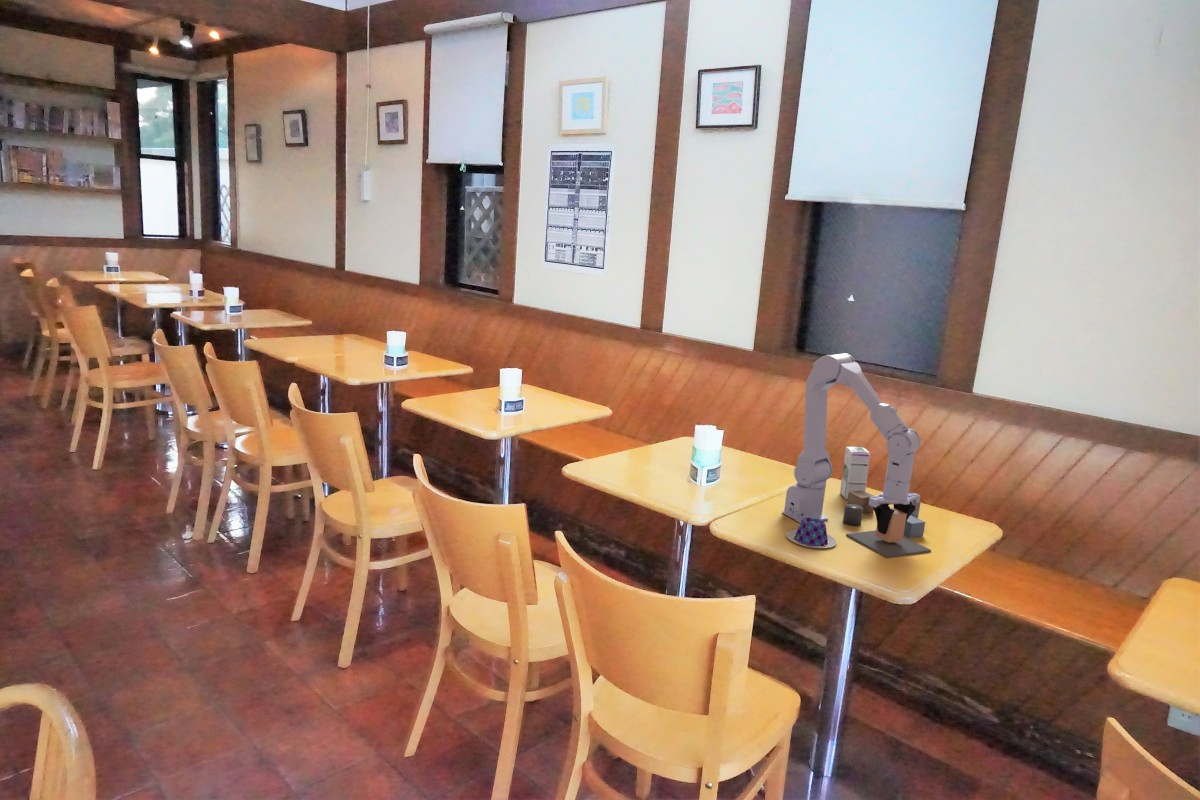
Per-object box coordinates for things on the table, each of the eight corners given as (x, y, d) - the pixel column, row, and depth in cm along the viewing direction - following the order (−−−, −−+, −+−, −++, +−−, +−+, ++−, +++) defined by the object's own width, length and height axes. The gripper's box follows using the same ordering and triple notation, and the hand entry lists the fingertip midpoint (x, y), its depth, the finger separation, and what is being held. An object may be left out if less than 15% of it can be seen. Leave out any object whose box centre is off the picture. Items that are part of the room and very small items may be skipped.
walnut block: (859, 515, 216) (861, 497, 215) (846, 508, 220) (848, 491, 219) (873, 513, 218) (875, 496, 217) (860, 507, 222) (862, 490, 221)
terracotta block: (888, 542, 193) (892, 515, 191) (875, 535, 197) (879, 508, 195) (902, 540, 195) (906, 513, 193) (889, 533, 199) (893, 507, 197)
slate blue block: (909, 538, 201) (912, 523, 200) (895, 531, 206) (897, 516, 205) (922, 536, 203) (925, 522, 202) (908, 529, 207) (910, 515, 207)
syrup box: (864, 501, 227) (872, 452, 224) (844, 499, 227) (851, 451, 224) (858, 494, 233) (865, 447, 230) (838, 493, 233) (845, 445, 230)
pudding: (782, 530, 201) (784, 510, 200) (830, 534, 201) (832, 514, 199) (790, 548, 189) (792, 527, 188) (841, 553, 189) (844, 532, 188)
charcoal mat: (886, 558, 187) (887, 556, 187) (846, 535, 199) (846, 533, 199) (930, 551, 193) (931, 549, 193) (888, 530, 205) (888, 528, 205)
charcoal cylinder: (851, 527, 206) (853, 510, 205) (838, 520, 210) (841, 504, 209) (864, 525, 208) (867, 509, 207) (852, 519, 212) (854, 503, 211)
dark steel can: (908, 523, 212) (912, 503, 211) (896, 517, 216) (899, 498, 215) (921, 522, 214) (924, 502, 212) (908, 516, 218) (911, 497, 216)
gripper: (887, 486, 186) (878, 540, 189) (932, 482, 192) (924, 535, 195) (865, 477, 192) (858, 529, 195) (910, 473, 198) (902, 524, 201)
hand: (889, 531), depth 196 cm, fingers closed on terracotta block, 4 cm apart
